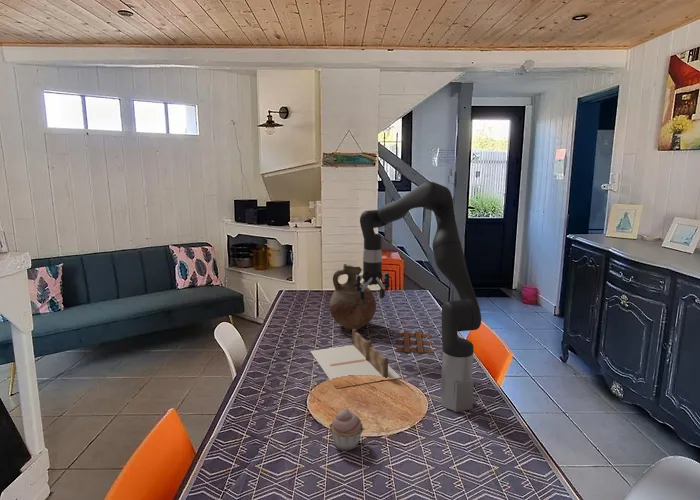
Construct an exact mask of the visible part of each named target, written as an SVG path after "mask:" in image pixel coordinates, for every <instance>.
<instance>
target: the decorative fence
mask: <svg viewBox="0 0 700 500" xmlns="http://www.w3.org/2000/svg"><path fill="white" fill-rule="evenodd" d="M396 337H403V339H396V344H397V345H403V347H396V349H395V350H396V353H413V354H414V353H415V354H416V353H417V354H433V353H435V350H434V349H430V348H423V346H430V345H433V342H432V341H429V340H422V338H430V337H432V336H431V334H429V333H421V331H415V332H414V333H413V332H410V333H409V331H407V330H404V331H403V332H396ZM410 338H415V340H410ZM410 345H416V348H415V347H413V348H411V347H410Z"/></svg>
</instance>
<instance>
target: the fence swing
mask: <svg viewBox="0 0 700 500" xmlns="http://www.w3.org/2000/svg"><path fill="white" fill-rule="evenodd" d="M351 330H352V331H351V335H352V340H351V341H352V342H351V343H352V344H351V345H355V346H356V347H357V348H358V349H359V350H360V351H361V353H362V354H363V355H364V356H365V357H366V341H367V340H366V339H365V338H364V337H363V336H362V335H361V334H360V333H359V332H357V331H358V329H351Z"/></svg>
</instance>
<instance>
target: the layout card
mask: <svg viewBox="0 0 700 500" xmlns="http://www.w3.org/2000/svg"><path fill="white" fill-rule="evenodd" d="M310 353H311V354H312V356H313V357H314V358H315V360H316V362H317V363H318V365H319V366H320V368H321V369H322V371H323V372H324V373H325V375H326V376H327V377H328V379H329V380H330V381H331V379H333V378H336V377H341V376H348V375H376V376H377V375H378V376H382V377H383V375H382V374H381V373H380V372H379V371H378V370H377V369H376V368H375V367H374V366H373V365H372V364H371V363H370V362H369V361H366V357H365V356H364V355H363V354H362V353H361V351H360V350H359V349H358V348H357V347H356V346H355V345H354V344H351V345H344V346H337V347H329V348H323V349H321V348H320V349H315V350H310ZM388 377H389V378H393V379H392V380H397V379H401V378H402V377H401V375H400V374H398V373H397V372H396V371H395V370H394V369H393V368H392V367H391V366H390V365H389V364H388Z"/></svg>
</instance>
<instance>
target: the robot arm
mask: <svg viewBox="0 0 700 500" xmlns="http://www.w3.org/2000/svg"><path fill="white" fill-rule="evenodd" d="M453 200H454V199H453V196H452V192H451V191H450V189H449V188H448V187H446V186H445V185H442V184H439V183H437V182H433V181H426V182H424V183H421V184H420V185H419V186H418V185H417V187H415V188H414V189H413V190H410V191H409V192H408V193H406V194H404V195H403V196H402V197H401V196H400V198H398V199H396V200H394V201H390V202H389V203H386V204H384V205H382V206H380V208H378V209H372V210H364V211H362V213H361V215H360V217H359V224H360V228H361V232H362V233H361V234H362V237H363V252H362V253H363V254H362V256H363V257H362V264H363V265H362V271H363V272H362V275H360V274H359V275H356V276H355V289H356V290H359V298H360V299H361V300H364V290H365V288H366V287H369V286H373V285H375V286H376V285H378V286H379V287H380V288H379V298H380V299H384V298H385V293H386V289H387V288H390V274H389V273H388V272H382V271H383V269H382V268H383V253H382V239H383V238H382V236H381V234H379V233H375V230H374V229H376V228H377V229H378V228H382V227H385V226H386V225H388V224H390V223H393V222H396V221H398V220H401V219H403V218H404V217H405V216H406V215H407V214H408V212H409V211H410V210H413V209H417V208H423V209H426V210H429V211H432V212H433V213H434V217H435V221H436V232H435V234H434V236H433V237H434V238H433V240H432V252H433V258H434V261H435V264H436V267H437V269H438V270H439V271H440V273H441V274H442V275H443V276H444V277H445V278H446V279H447V280H448V281H449V283H451V284H452V285H453V287H454V289H455V290H456V292H457V293H458V296H459V299H460V300H449V301H448V300H447V301H445V302H444V303H443V305H442V308H441V342H442V343H441V345H442V349H441V350H442V353H441V354H442V356H441V378H440V379H441V380H440V381H441V382H440V404H441V406H442V407H444V408H446V409H448V410H451V411H453V412H454V413H458V412H463V411H468V410H472V409H473V405H474V404H473V401H474V381H475V380H474V379H473V368H474V367H473V366H474V365H473V364H474V350H475V349H474V344H473V343H472V341H470V340H468V339H466V338H463V337H460V336H458V335H459V334H458V332H465V331H466V332H467V331H477V330H478V329H479V328H480V327H481V325H482V314H481V308H480V305H479V302H478V299H477V296H476V294H475V290H474V287H473V285H472V282H471V279H470V275H469V272H468V267H467V263H466V258H465V254H464V250H463V245H462V241H461V239H460V235H459V230H458V226H457V222H456V216H455V208H454V202H453ZM382 278H383V279H384V280H383V282H382V281H381V280H382ZM362 279H363V281H362ZM361 281H362V282H361ZM360 283H362V285H361V286H360Z"/></svg>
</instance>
